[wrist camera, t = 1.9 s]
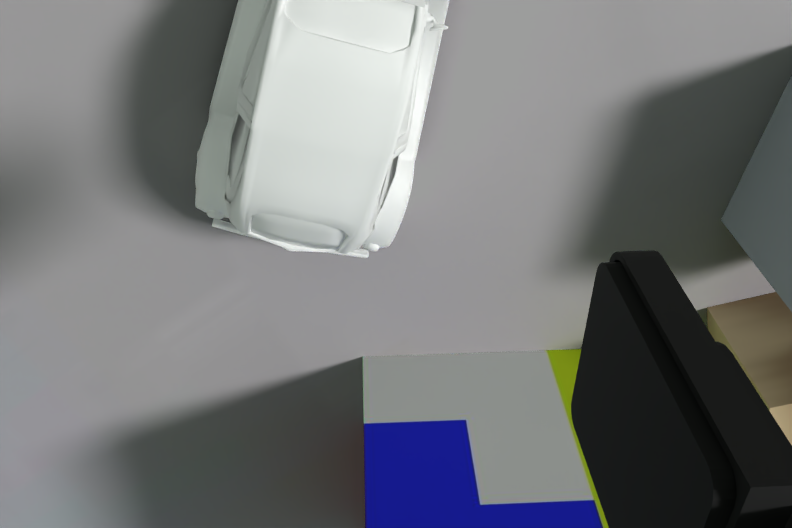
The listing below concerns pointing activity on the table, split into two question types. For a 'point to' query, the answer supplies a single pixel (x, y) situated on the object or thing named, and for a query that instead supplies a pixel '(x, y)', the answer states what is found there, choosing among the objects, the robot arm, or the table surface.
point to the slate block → (768, 202)
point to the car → (319, 121)
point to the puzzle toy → (475, 442)
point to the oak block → (760, 348)
